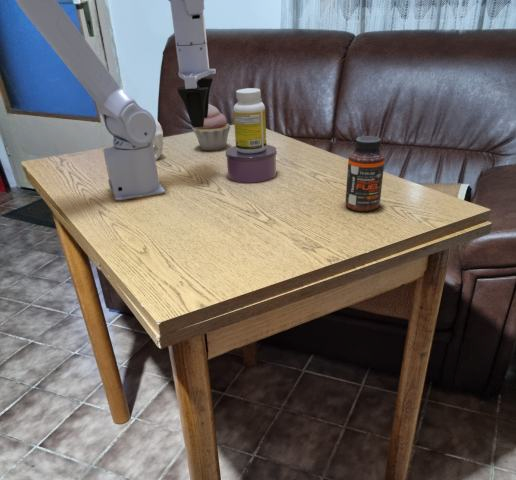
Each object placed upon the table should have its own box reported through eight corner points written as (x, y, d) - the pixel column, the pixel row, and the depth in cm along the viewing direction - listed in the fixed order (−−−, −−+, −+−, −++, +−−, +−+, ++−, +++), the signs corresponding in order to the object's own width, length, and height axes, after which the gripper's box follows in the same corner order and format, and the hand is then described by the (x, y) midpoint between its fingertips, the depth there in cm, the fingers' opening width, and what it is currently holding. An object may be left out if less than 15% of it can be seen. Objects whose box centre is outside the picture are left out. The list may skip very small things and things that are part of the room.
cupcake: (194, 144, 130) (190, 100, 124) (231, 141, 130) (228, 98, 124) (193, 154, 122) (188, 108, 116) (232, 151, 122) (229, 106, 116)
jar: (236, 186, 101) (234, 160, 99) (220, 172, 109) (218, 147, 107) (285, 178, 104) (284, 152, 101) (266, 165, 112) (265, 141, 109)
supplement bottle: (353, 214, 87) (358, 145, 80) (339, 202, 92) (343, 136, 85) (385, 209, 88) (393, 140, 81) (370, 198, 93) (376, 132, 86)
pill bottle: (249, 144, 108) (246, 86, 101) (272, 148, 104) (271, 88, 98) (229, 151, 104) (225, 91, 97) (253, 156, 100) (250, 94, 94)
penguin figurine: (161, 118, 114) (108, 130, 112) (170, 157, 119) (119, 169, 117) (155, 113, 119) (104, 125, 117) (164, 150, 124) (115, 162, 122)
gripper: (209, 47, 88) (217, 130, 96) (216, 38, 100) (222, 112, 108) (168, 49, 89) (179, 132, 97) (180, 40, 100) (189, 114, 108)
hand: (200, 122), depth 102 cm, fingers open, 7 cm apart
